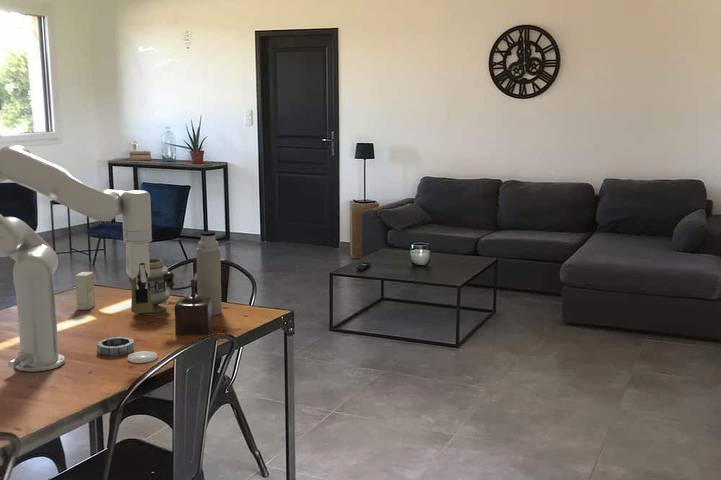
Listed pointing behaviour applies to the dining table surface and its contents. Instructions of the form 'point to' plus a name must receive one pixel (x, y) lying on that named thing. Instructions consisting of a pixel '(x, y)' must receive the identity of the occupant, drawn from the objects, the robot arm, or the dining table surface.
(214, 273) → the thermos bottle
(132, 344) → the holder ring
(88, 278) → the skincare box
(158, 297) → the apothecary jar
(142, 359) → the pebble
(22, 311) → the robot arm
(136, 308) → the cork
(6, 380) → the dining table surface
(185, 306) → the pepper mill
